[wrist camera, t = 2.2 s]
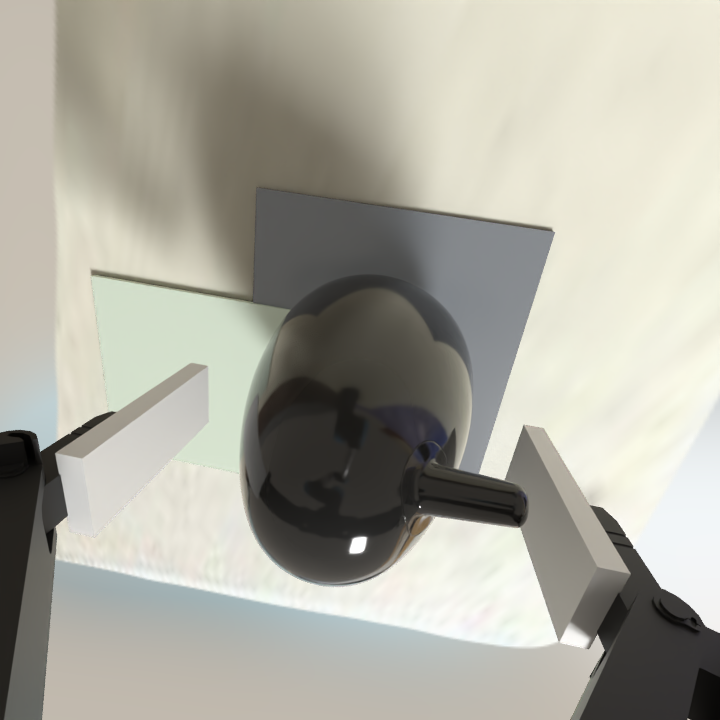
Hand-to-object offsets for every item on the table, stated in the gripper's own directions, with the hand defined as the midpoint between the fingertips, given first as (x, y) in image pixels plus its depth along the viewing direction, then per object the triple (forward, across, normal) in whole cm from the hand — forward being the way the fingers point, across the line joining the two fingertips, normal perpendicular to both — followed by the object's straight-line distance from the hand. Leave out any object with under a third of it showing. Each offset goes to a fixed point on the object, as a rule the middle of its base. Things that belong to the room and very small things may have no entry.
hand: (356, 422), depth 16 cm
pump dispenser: (+8, 0, 0) cm, 9 cm away
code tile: (+8, 0, 0) cm, 9 cm away
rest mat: (+9, -12, -5) cm, 15 cm away
